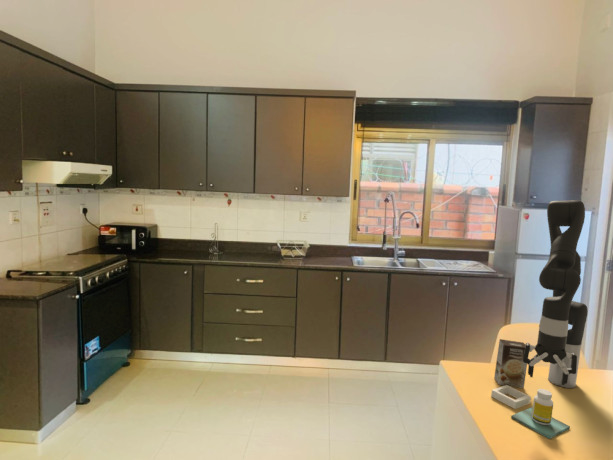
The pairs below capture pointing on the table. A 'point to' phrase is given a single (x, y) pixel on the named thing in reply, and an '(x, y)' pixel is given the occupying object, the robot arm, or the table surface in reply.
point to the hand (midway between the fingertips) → (546, 380)
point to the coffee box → (510, 364)
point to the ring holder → (521, 397)
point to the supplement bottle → (542, 407)
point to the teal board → (545, 430)
